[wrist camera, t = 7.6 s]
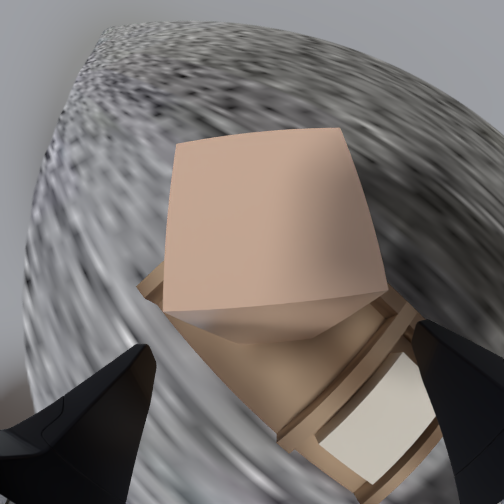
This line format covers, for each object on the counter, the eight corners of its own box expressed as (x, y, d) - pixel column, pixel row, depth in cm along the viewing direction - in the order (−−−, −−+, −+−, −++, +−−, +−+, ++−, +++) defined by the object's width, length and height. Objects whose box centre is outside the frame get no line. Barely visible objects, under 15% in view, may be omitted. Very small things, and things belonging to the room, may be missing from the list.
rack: (357, 491, 12) (369, 510, 9) (156, 298, 19) (136, 286, 16) (455, 379, 14) (480, 379, 11) (263, 201, 21) (261, 176, 18)
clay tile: (363, 473, 12) (372, 484, 10) (314, 434, 13) (318, 444, 12) (433, 395, 13) (448, 397, 11) (390, 353, 15) (403, 352, 13)
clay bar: (312, 338, 16) (388, 290, 5) (241, 344, 16) (162, 311, 5) (304, 270, 18) (339, 127, 6) (237, 277, 18) (176, 144, 7)
